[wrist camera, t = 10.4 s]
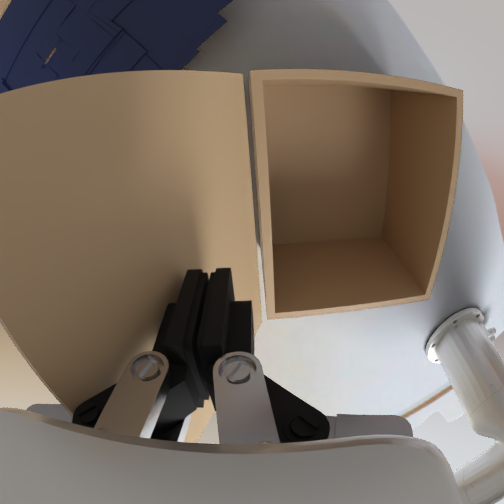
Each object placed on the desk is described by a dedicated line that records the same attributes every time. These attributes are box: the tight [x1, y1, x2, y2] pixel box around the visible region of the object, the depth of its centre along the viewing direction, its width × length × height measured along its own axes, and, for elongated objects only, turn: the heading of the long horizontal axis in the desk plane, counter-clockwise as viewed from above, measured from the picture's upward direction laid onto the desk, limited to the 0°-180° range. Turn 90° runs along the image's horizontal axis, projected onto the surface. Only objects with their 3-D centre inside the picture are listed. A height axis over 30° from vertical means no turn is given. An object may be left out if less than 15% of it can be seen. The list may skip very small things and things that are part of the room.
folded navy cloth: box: [0, 0, 233, 94], centre depth 19 cm, size 24×30×4 cm
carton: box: [248, 69, 463, 320], centre depth 22 cm, size 14×17×11 cm
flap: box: [0, 70, 262, 443], centre depth 12 cm, size 14×17×1 cm
